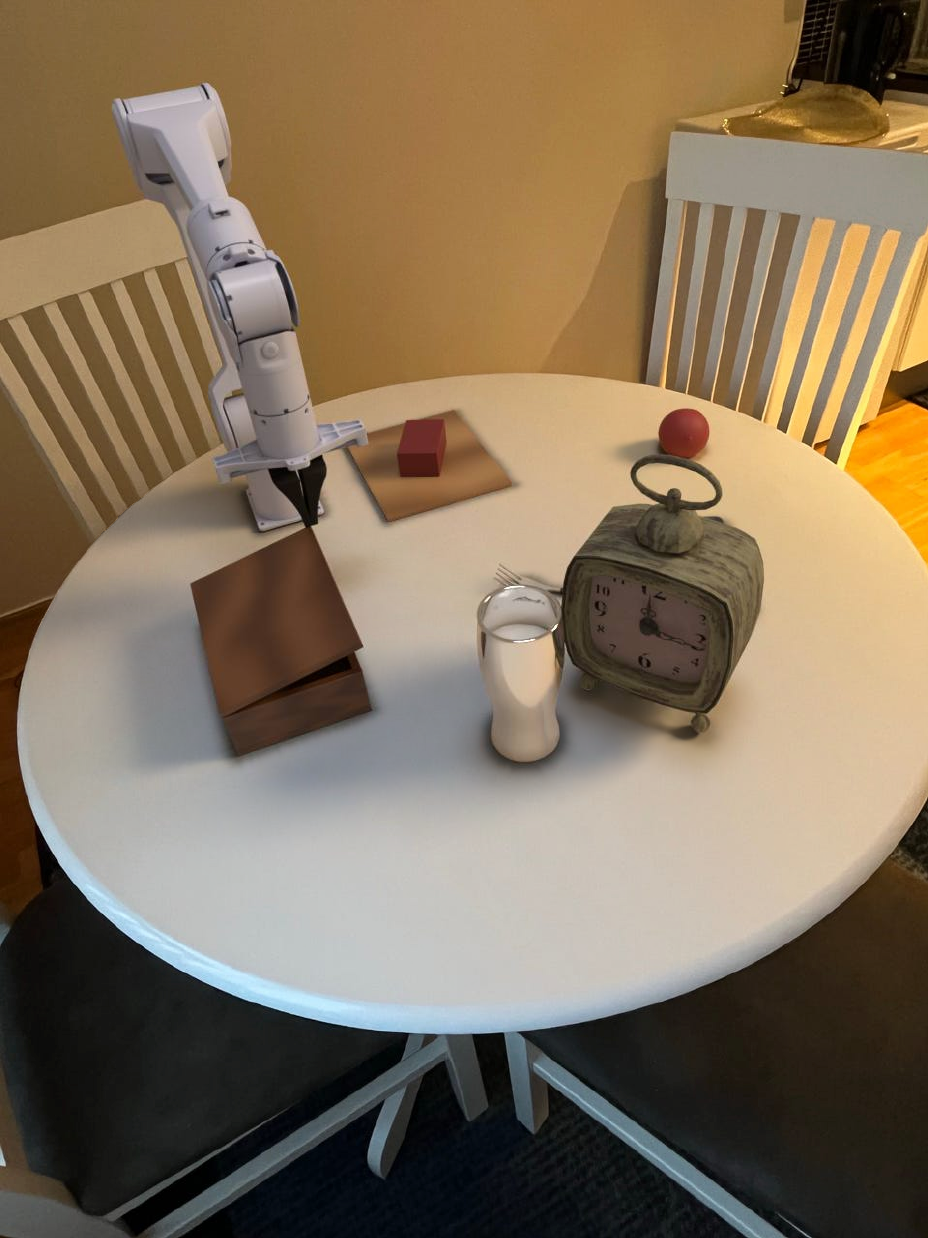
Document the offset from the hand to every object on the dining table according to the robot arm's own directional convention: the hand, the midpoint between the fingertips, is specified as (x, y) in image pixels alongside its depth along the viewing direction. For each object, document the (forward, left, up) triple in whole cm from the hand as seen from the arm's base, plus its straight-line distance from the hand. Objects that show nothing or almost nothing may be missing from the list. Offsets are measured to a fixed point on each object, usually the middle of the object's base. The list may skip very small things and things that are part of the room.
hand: (309, 520), depth 85 cm
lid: (+10, -7, -2) cm, 12 cm away
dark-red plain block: (-18, +18, -8) cm, 27 cm away
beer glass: (+28, +11, -9) cm, 32 cm away
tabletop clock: (+28, +24, -9) cm, 38 cm away
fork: (+13, +23, -9) cm, 28 cm away
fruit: (-4, +47, -9) cm, 48 cm away
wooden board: (-18, +18, -9) cm, 27 cm away
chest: (+10, -7, -9) cm, 15 cm away
